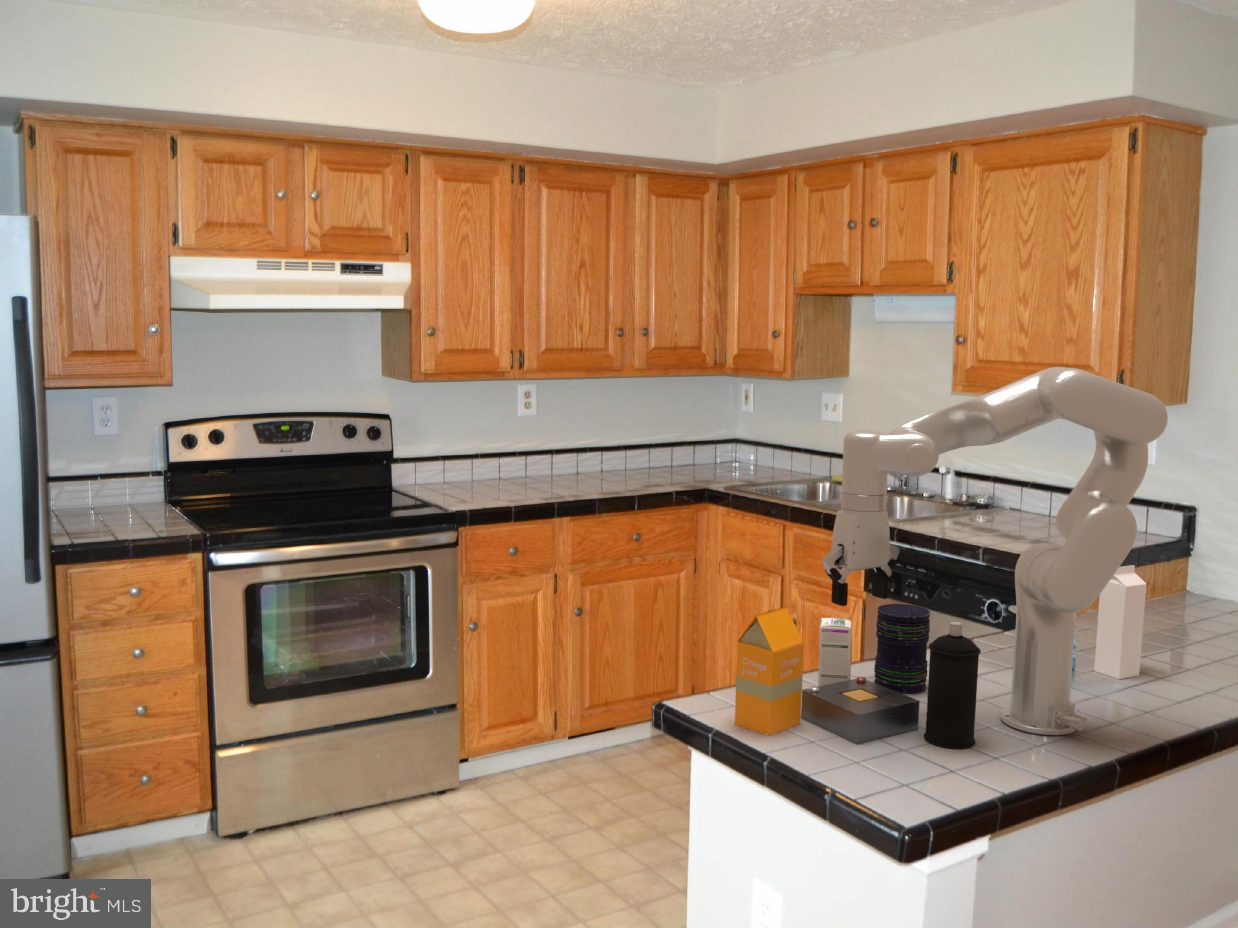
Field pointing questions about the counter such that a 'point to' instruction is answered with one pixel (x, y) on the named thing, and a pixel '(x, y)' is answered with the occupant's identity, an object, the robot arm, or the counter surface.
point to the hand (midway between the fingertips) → (859, 600)
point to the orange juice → (769, 673)
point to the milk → (1120, 625)
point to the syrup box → (834, 651)
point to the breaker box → (860, 710)
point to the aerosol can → (952, 690)
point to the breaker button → (860, 695)
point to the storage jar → (902, 648)
